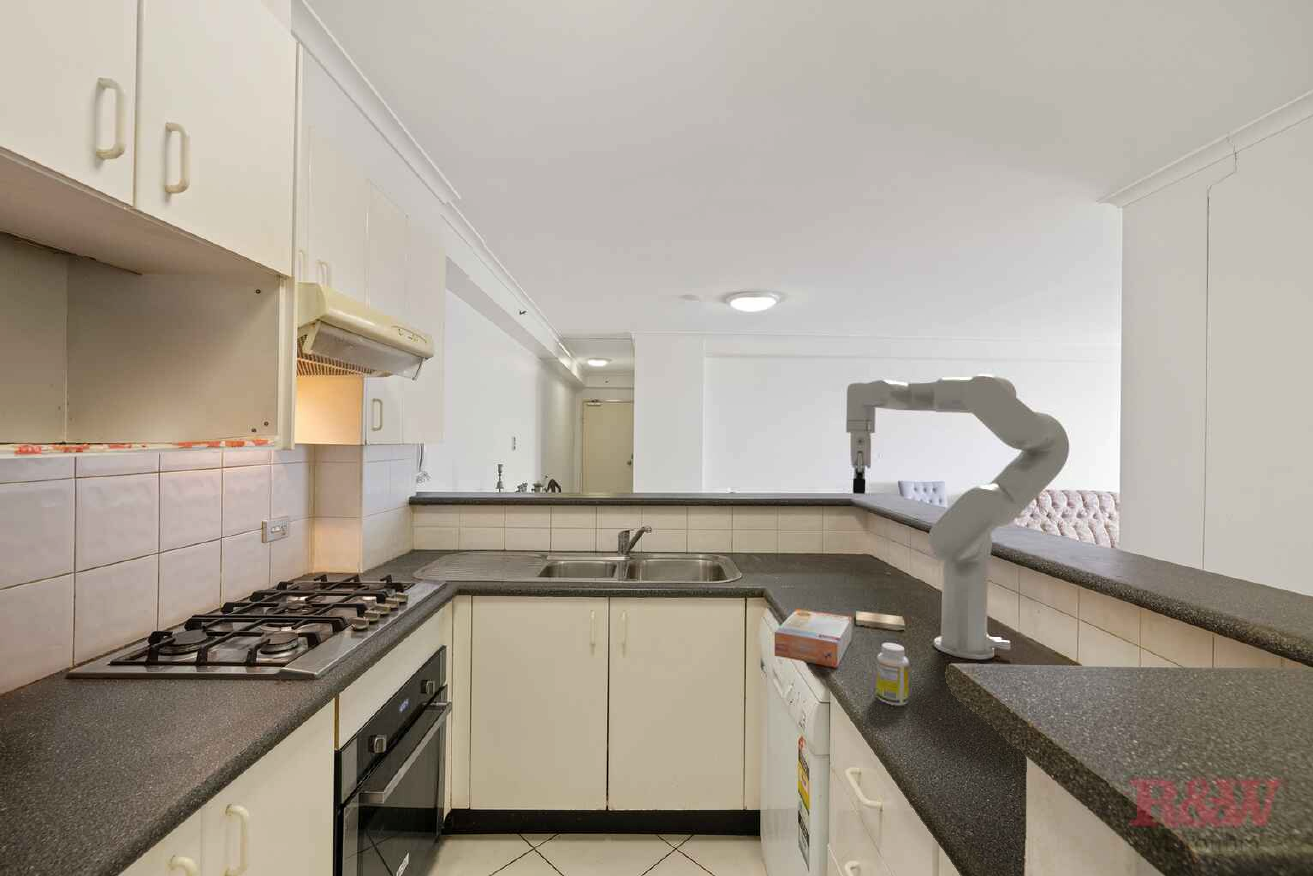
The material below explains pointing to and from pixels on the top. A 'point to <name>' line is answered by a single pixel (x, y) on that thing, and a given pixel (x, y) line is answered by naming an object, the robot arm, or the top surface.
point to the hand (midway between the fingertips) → (858, 493)
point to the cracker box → (814, 637)
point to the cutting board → (880, 620)
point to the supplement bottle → (892, 675)
